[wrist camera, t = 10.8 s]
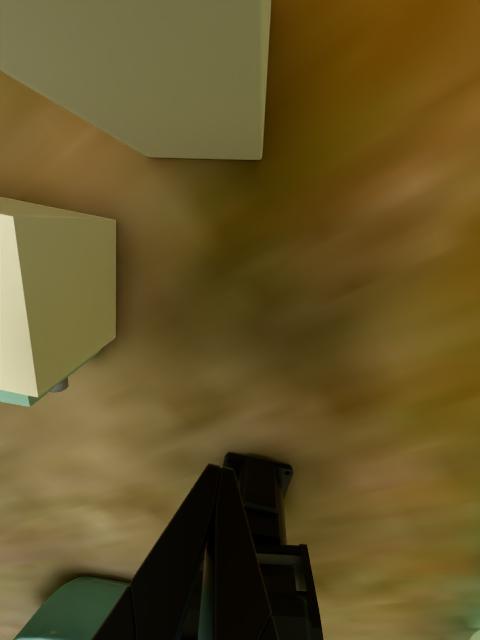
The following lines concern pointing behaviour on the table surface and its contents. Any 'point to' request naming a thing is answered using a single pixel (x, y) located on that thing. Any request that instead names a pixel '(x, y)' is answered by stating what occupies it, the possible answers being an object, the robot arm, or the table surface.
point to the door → (30, 400)
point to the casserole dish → (74, 610)
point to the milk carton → (148, 69)
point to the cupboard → (53, 293)
